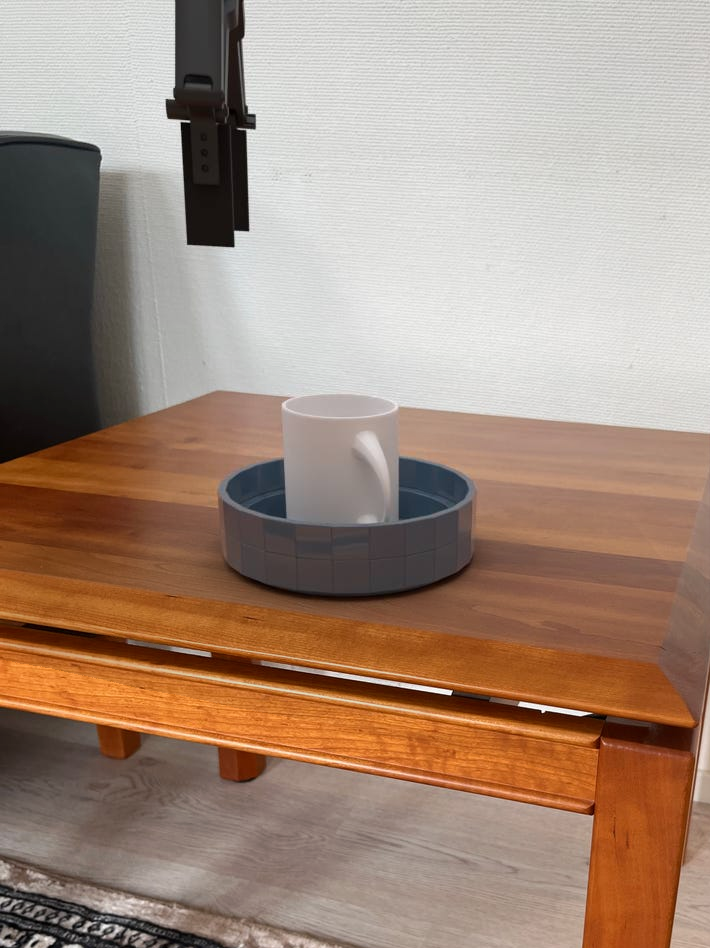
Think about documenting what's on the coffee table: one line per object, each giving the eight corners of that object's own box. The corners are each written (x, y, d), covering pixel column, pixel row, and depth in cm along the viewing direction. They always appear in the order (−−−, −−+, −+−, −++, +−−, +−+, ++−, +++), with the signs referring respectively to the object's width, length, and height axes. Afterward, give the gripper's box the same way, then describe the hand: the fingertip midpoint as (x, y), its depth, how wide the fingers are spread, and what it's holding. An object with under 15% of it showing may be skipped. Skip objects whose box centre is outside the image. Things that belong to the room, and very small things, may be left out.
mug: (332, 583, 72) (328, 433, 67) (271, 533, 81) (264, 397, 77) (439, 564, 76) (442, 421, 72) (369, 518, 85) (368, 389, 81)
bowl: (210, 603, 69) (203, 526, 67) (235, 515, 87) (231, 451, 84) (488, 599, 72) (492, 525, 70) (459, 514, 89) (461, 452, 87)
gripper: (260, -229, 47) (271, 258, 56) (280, -107, 69) (285, 228, 78) (90, -251, 46) (129, 250, 55) (166, -119, 68) (185, 222, 77)
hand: (221, 238), depth 67 cm, fingers open, 13 cm apart
